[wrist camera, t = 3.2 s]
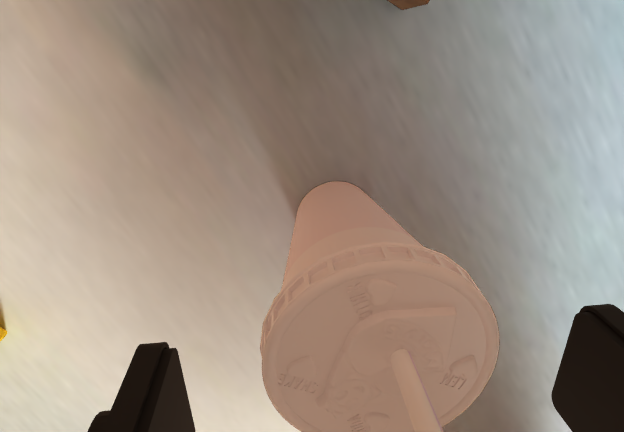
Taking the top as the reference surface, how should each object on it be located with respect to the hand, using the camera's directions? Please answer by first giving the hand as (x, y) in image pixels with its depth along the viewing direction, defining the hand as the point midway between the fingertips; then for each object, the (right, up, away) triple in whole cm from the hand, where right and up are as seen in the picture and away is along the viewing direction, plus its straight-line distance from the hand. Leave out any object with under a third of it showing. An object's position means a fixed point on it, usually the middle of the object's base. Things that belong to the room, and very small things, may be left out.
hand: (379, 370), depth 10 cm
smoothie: (0, +4, +10) cm, 11 cm away
